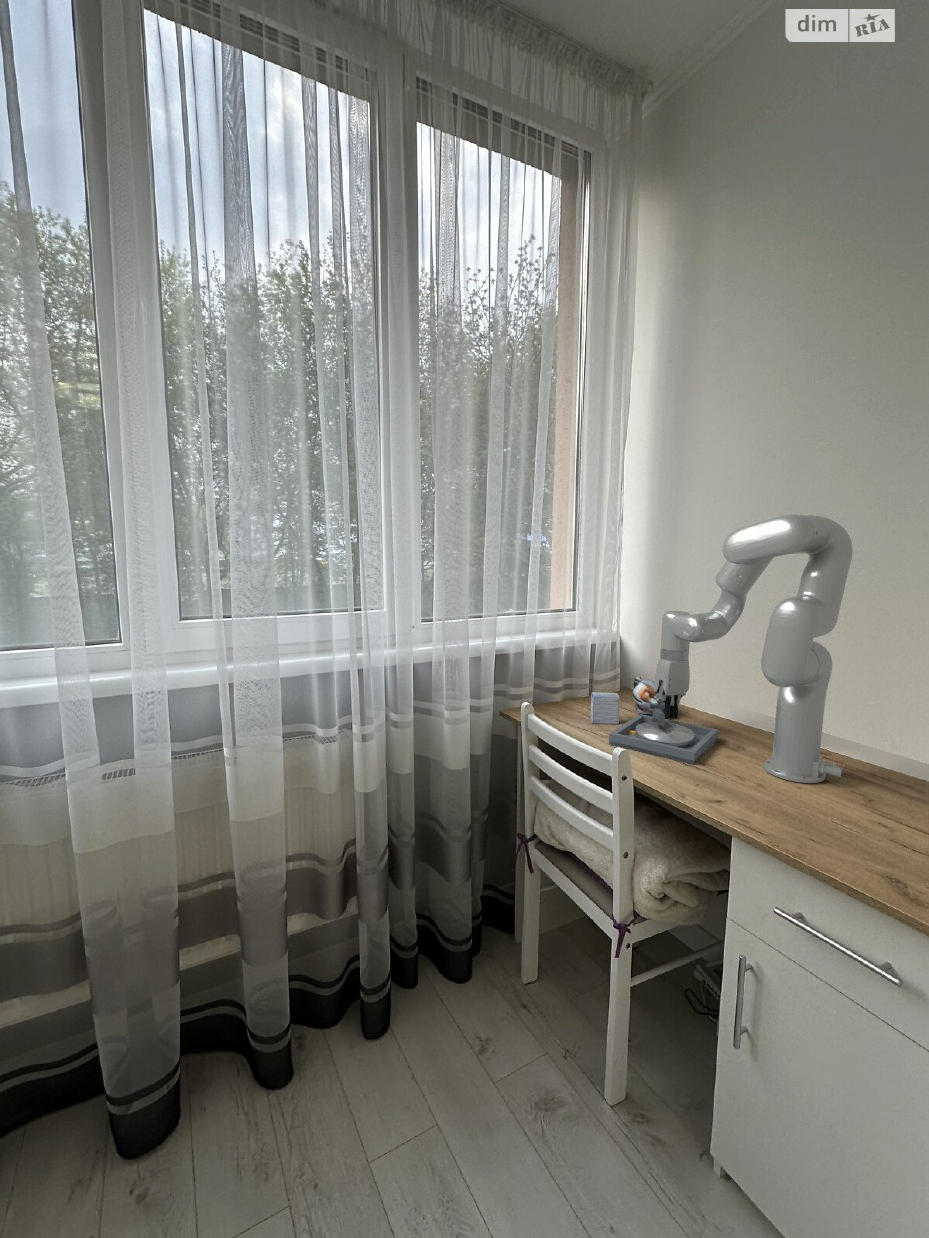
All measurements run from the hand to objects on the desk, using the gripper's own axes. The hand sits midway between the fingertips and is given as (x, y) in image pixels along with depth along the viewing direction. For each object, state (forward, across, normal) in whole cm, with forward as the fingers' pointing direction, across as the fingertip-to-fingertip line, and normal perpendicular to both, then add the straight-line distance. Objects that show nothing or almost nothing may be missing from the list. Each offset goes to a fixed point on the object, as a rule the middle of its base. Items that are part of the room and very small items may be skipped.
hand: (670, 717), depth 161 cm
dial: (+3, +9, +5) cm, 10 cm away
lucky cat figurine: (+4, -10, -13) cm, 17 cm away
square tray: (+4, +9, +5) cm, 11 cm away
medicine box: (+4, +10, -16) cm, 19 cm away
